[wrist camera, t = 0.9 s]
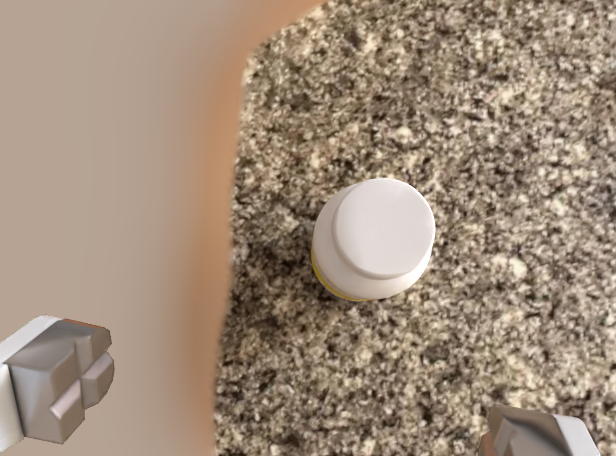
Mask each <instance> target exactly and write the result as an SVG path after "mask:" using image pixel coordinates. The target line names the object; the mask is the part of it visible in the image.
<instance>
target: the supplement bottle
mask: <svg viewBox="0 0 616 456" xmlns="http://www.w3.org/2000/svg"><path fill="white" fill-rule="evenodd" d="M434 237H435V222H434V217H433V214H432V211H431V209H430V207H429V205H428V203H427V201H426V200H425V199H424V197H423V196H422V195H421V194H420V193H419V192H418V191H417V190H416V189H414V188H413V187H411V186H410V185H408V184H406V183H404V182H402V181H399V180H395V179H390V178H375V179H370V180H367V181H364V182H362V183H357V184H354V185H351V186H348V187H346V188H344V189H342V190H340V191H339V192H338V193H336V194H335V195H334V196H333V197H331V198H330V199H329V200H328V202H327V203H326V204H325V205H324V207H323V208H322V210H321V212H320V214H319V216H318V218H317V221H316V224H315V227H314V232H313V239H312V246H311V263H312V267H313V270H314V273H315V275H316V277H317V279H318V281H319V282H320V284H321V285H322V286H323V287H324V288H325V289H326V290H327V291H328V292H330V293H331V294H333V295H334V296H336V297H338V298H341V299H344V300H348V301H368V300H374V299H381V298H385V297H390V296H393V295H396V294H398V293H400V292H402V291H404V290H406V289H407V288H408V287H410V286H411V285H412V284H413V283H415V281H416V280H417V279H418V278H419V277H420V276H421V274H422V273H423V271H424V270H425V268H426V266H427V264H428V261H429V258H430V254H431V248H432V245H433V242H434Z"/></svg>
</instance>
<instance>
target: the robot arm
mask: <svg viewBox="0 0 616 456" xmlns="http://www.w3.org/2000/svg"><path fill="white" fill-rule="evenodd" d="M111 344H112V342H111V336H110V331H109V330H108V329H106V328H104V327H100V326H96V325H92V324H87V323H83V322H78V321H74V320H69V319H62V318H58V317H54V316H49V315H42V316H37V317H35V318H34V319H33V320H31V321H30V322H28V323H27V324H26V325H24V326H23V327H21V328H20V329H19V330H17V331H16V332H14V333H13V334H12V335H10V336H9V337H7V338H6V339H5V340H3V341H2V342H0V453H1V452H2V451H4V450H6V449H7V448H9V447H11V446H13V445H14V444H16V443H18V442H20V441H21V440H23V439H24V437H29V438H33V439H39V440H43V441H48V442H53V443H58V444H63V443H64V442H65V441H66V440H67V439H68V438H69V437H70V435H71V434H72V433H73V432H74V431H75V430H76V429H77V427H78V426H79V425H80V424H81V423H82V422H83V420H84V419H85V409H87V408H89V407H92V406H94V405H96V404H98V403H99V402H100V401H101V399H102V398H103V397H104V396H105V395H106V393H107V392H108V389H109V387H110V385H111V383H112V381H113V375H114V361H113V359H112V357H111V356H110V355H109V353H108V352H107V351H106V350H107V349H108V347H109V346H110V345H111ZM487 420H488V424H489V428H490V431H489V432H487V433H486V434H484V435H483V436H482V437H481V441H480V445H479V448H478V456H601V455H600V453H599V451H598V449H597V447H596V446H595V444H594V442H593V440H592V438H591V436H590V434H589V432H588V430H587V428H586V426H585V424H584V423H583V422H582V421H581V420H580V419H579V418H574V417H569V416H563V415H557V414H551V413H550V414H547V413H543V412H537V411H532V410H527V409H521V408H516V407H511V406H505V405H500V404H495V403H494V405H493V406H492V407H491V409H490V412H489V415H488V418H487Z"/></svg>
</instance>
